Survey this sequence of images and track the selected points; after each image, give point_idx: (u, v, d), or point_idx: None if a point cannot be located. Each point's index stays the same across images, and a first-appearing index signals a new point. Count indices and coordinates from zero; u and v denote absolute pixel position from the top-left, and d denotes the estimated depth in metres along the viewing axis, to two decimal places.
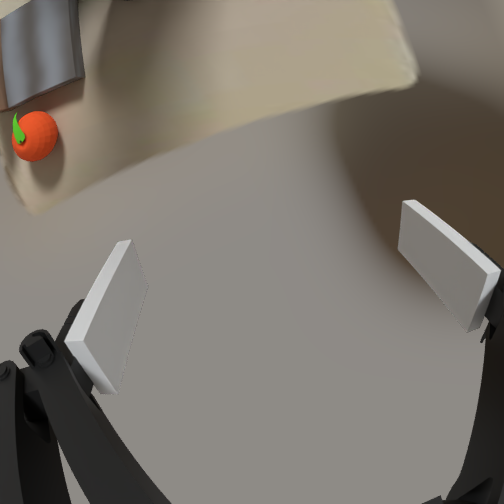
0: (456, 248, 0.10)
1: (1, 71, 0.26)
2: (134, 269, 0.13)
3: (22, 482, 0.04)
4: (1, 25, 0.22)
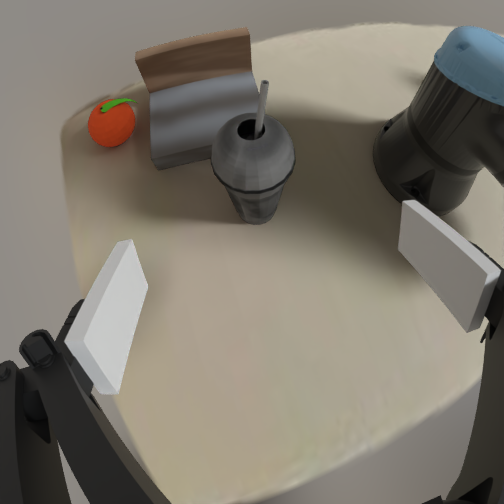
0: (456, 248, 0.10)
1: (188, 80, 0.38)
2: (134, 269, 0.13)
3: (22, 482, 0.04)
4: (243, 73, 0.39)
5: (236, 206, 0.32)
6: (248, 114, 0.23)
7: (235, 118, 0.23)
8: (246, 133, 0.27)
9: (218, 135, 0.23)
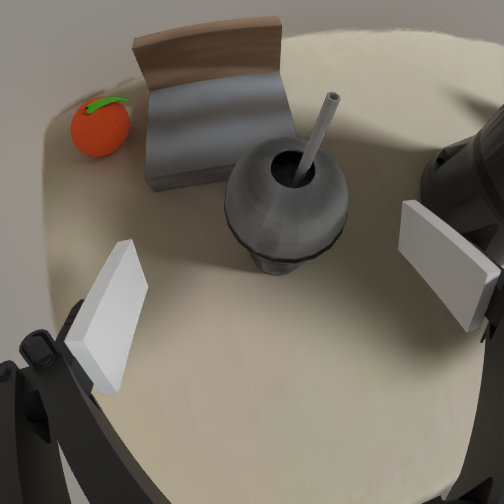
0: (456, 248, 0.10)
1: (199, 78, 0.31)
2: (134, 269, 0.13)
3: (22, 482, 0.04)
4: (268, 73, 0.31)
5: (253, 258, 0.24)
6: (288, 141, 0.15)
7: (267, 145, 0.15)
8: (277, 163, 0.19)
9: (238, 170, 0.15)
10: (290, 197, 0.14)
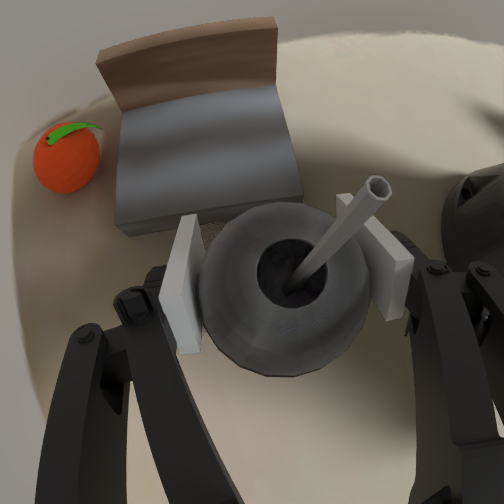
0: (373, 237, 0.11)
1: (179, 95, 0.26)
2: (199, 241, 0.15)
3: (82, 455, 0.05)
4: (262, 87, 0.26)
5: None
6: (285, 219, 0.10)
7: (252, 227, 0.10)
8: None
9: (210, 265, 0.10)
10: (287, 322, 0.09)
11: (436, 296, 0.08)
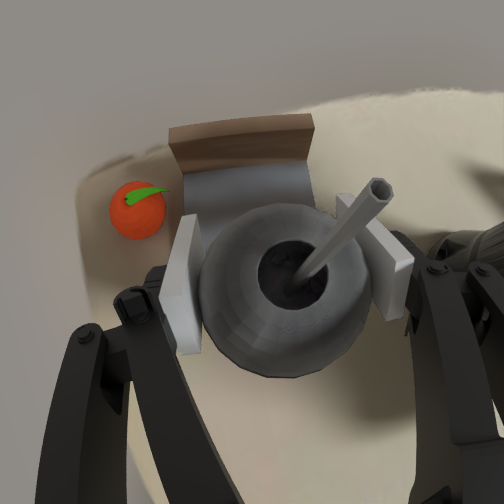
0: (372, 237, 0.11)
1: (231, 166, 0.36)
2: (199, 241, 0.15)
3: (82, 455, 0.05)
4: (296, 163, 0.36)
5: None
6: (285, 220, 0.10)
7: (253, 228, 0.10)
8: None
9: (211, 267, 0.10)
10: (288, 323, 0.09)
11: (436, 296, 0.08)
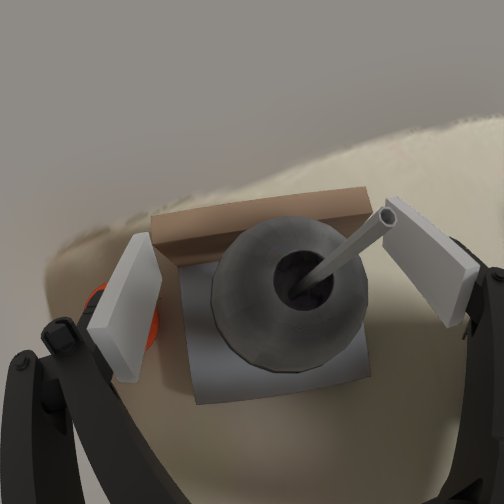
0: (436, 244, 0.10)
1: None
2: (150, 261, 0.14)
3: (35, 474, 0.04)
4: None
5: None
6: (296, 232, 0.11)
7: (268, 239, 0.11)
8: None
9: (229, 272, 0.12)
10: (299, 322, 0.10)
11: (497, 301, 0.07)
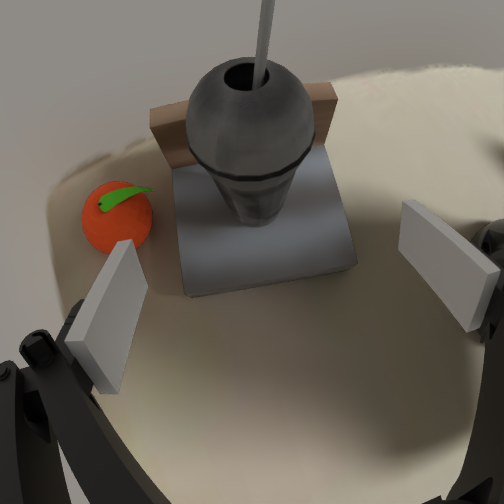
0: (456, 248, 0.10)
1: None
2: (134, 269, 0.13)
3: (22, 482, 0.04)
4: (312, 147, 0.29)
5: (226, 202, 0.22)
6: (243, 58, 0.13)
7: None
8: None
9: (195, 89, 0.14)
10: (243, 99, 0.12)
11: None
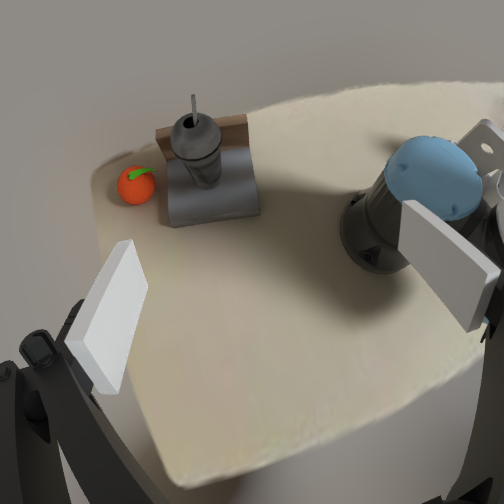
0: (456, 248, 0.10)
1: None
2: (134, 269, 0.13)
3: (22, 482, 0.04)
4: (242, 148, 0.53)
5: (190, 174, 0.47)
6: (191, 113, 0.38)
7: (184, 116, 0.38)
8: None
9: (173, 126, 0.38)
10: (188, 131, 0.37)
11: None
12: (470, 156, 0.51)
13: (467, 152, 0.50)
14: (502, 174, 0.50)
